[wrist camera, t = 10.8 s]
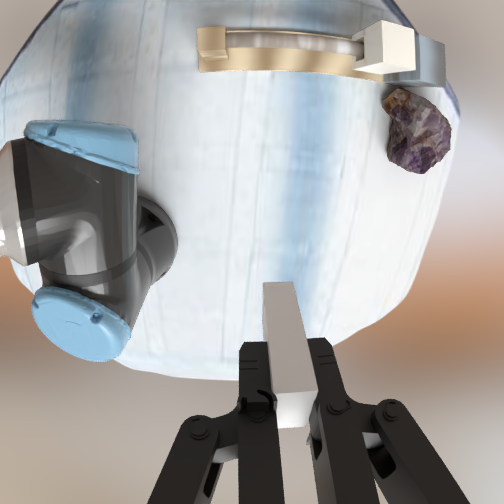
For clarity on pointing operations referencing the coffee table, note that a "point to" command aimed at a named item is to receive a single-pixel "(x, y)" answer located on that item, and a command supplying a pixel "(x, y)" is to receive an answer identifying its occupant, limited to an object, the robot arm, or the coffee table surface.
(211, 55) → the rail
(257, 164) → the coffee table surface
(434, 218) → the coffee table surface
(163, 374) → the coffee table surface
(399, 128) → the rock
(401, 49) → the sleeve
